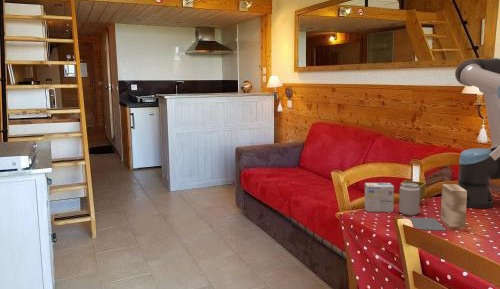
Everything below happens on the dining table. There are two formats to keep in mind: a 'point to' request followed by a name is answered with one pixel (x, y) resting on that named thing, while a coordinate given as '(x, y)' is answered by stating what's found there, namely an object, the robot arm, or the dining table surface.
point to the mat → (427, 224)
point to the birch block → (453, 206)
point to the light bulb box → (379, 197)
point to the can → (409, 199)
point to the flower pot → (421, 185)
